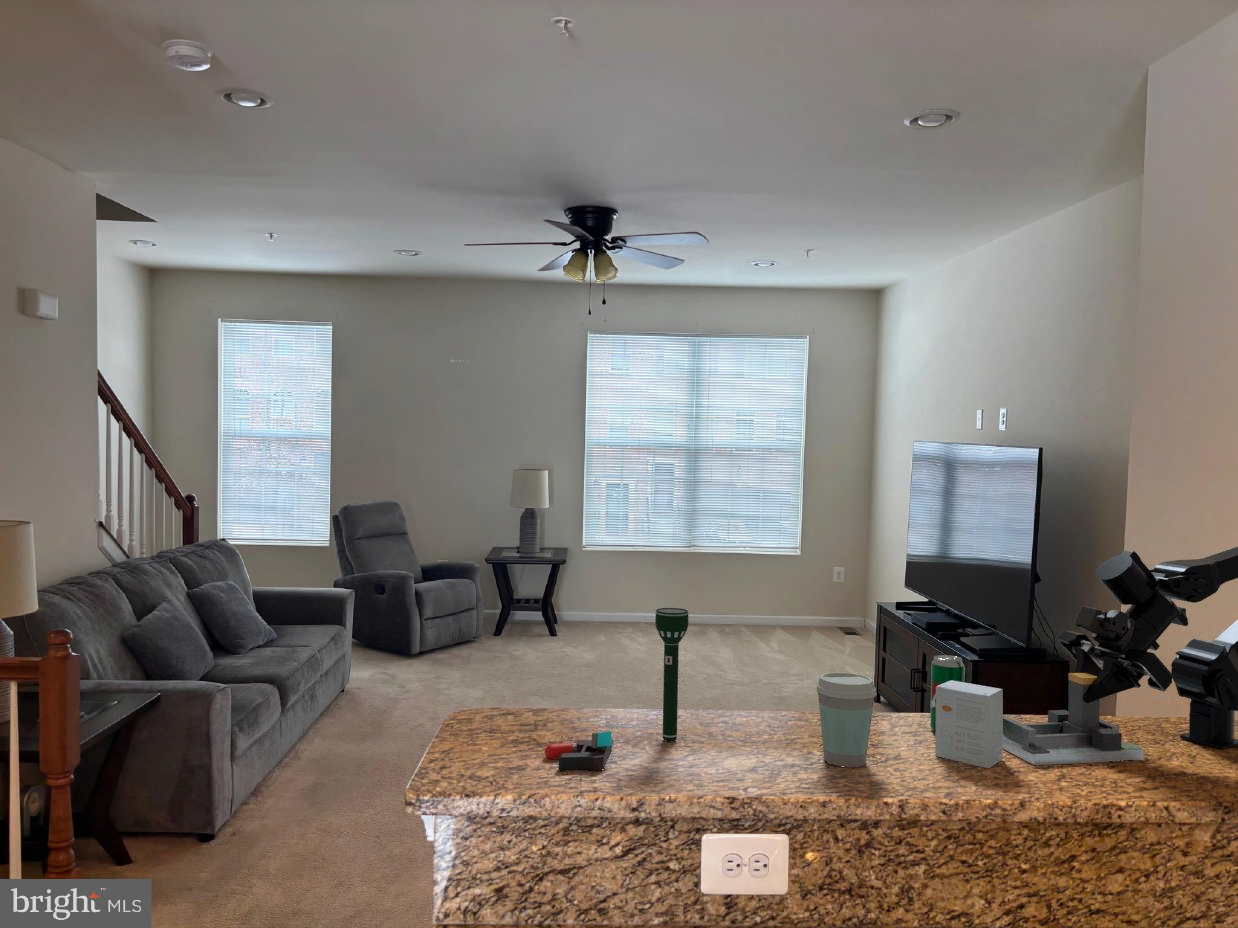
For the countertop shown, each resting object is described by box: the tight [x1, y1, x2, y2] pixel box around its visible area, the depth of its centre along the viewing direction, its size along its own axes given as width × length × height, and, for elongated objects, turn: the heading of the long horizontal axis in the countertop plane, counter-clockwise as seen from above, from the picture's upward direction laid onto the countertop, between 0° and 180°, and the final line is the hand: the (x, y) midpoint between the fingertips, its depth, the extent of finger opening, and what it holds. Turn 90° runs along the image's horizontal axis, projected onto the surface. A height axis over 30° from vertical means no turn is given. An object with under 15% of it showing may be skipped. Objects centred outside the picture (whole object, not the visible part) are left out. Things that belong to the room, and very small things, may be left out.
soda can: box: [929, 654, 966, 733], centre depth 142 cm, size 5×5×12 cm
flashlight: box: [655, 607, 689, 743], centre depth 135 cm, size 5×5×20 cm
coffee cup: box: [815, 671, 877, 768], centre depth 127 cm, size 8×9×12 cm
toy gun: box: [544, 730, 614, 772], centre depth 126 cm, size 10×12×5 cm
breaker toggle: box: [1063, 672, 1104, 734], centre depth 135 cm, size 4×4×9 cm
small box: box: [935, 680, 1004, 769], centre depth 129 cm, size 8×6×10 cm
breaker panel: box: [1003, 709, 1145, 766], centre depth 134 cm, size 18×13×4 cm
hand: (1076, 697), depth 135 cm, fingers closed on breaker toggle, 3 cm apart
